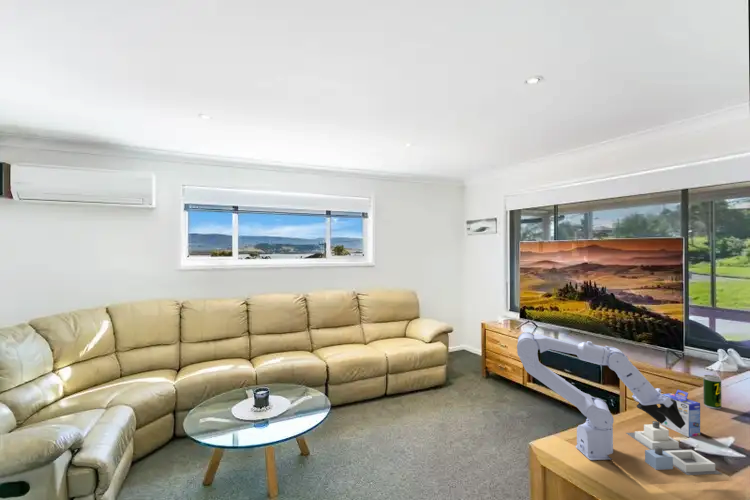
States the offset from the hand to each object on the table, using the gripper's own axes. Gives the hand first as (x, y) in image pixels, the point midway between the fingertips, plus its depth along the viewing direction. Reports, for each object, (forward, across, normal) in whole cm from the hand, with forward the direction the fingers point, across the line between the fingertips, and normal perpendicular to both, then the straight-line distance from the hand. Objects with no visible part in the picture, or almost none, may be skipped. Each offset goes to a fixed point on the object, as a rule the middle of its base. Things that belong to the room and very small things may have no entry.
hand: (672, 423), depth 111 cm
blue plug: (+7, +1, +12) cm, 14 cm away
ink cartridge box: (+15, +22, -9) cm, 28 cm away
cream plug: (+7, +13, +3) cm, 15 cm away
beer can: (+28, +44, -36) cm, 63 cm away
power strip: (+10, +8, +4) cm, 14 cm away
